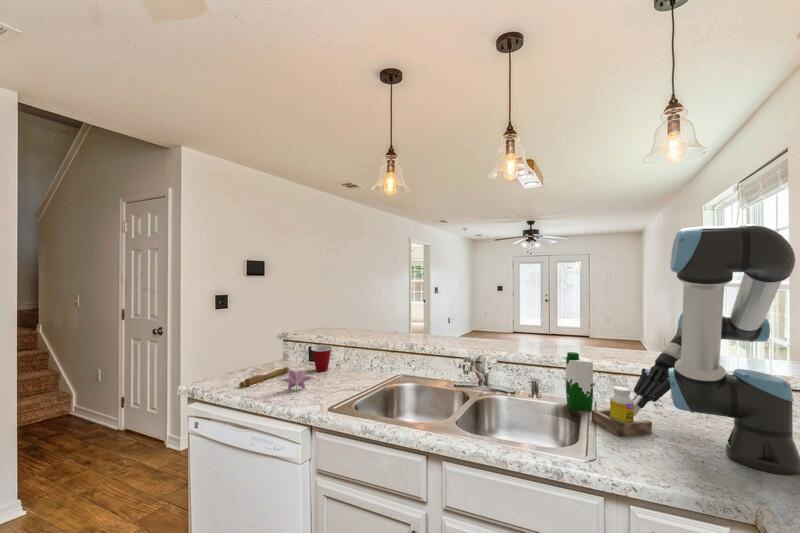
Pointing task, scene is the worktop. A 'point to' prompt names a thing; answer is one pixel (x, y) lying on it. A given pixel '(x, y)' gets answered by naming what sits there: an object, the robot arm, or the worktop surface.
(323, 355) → the plastic cup
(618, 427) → the walnut dock
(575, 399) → the milk carton
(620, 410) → the supplement bottle
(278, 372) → the tap handle
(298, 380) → the lily
